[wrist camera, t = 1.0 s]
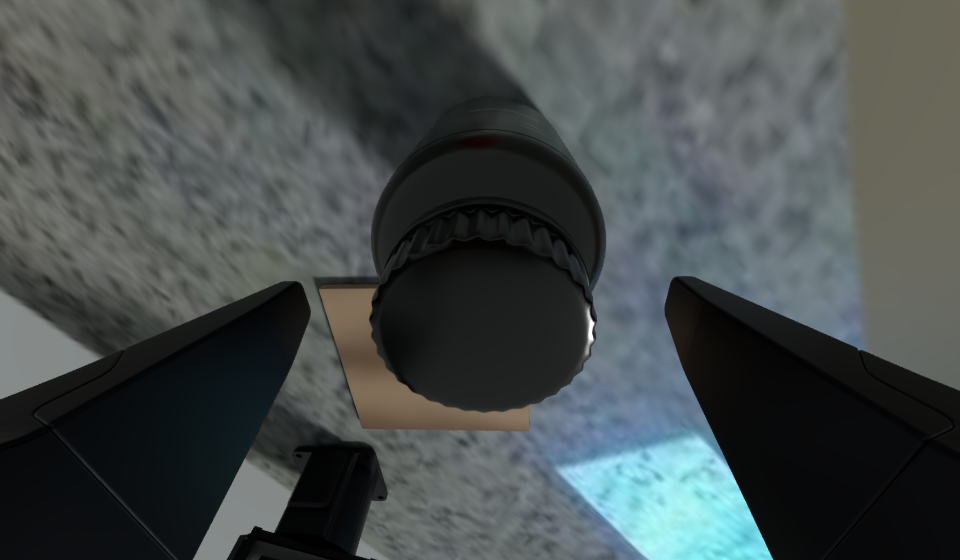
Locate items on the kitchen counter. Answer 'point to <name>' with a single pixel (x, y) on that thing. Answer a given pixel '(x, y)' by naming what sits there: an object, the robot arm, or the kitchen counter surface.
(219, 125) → the kitchen counter surface
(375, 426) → the tan board
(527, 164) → the supplement bottle
